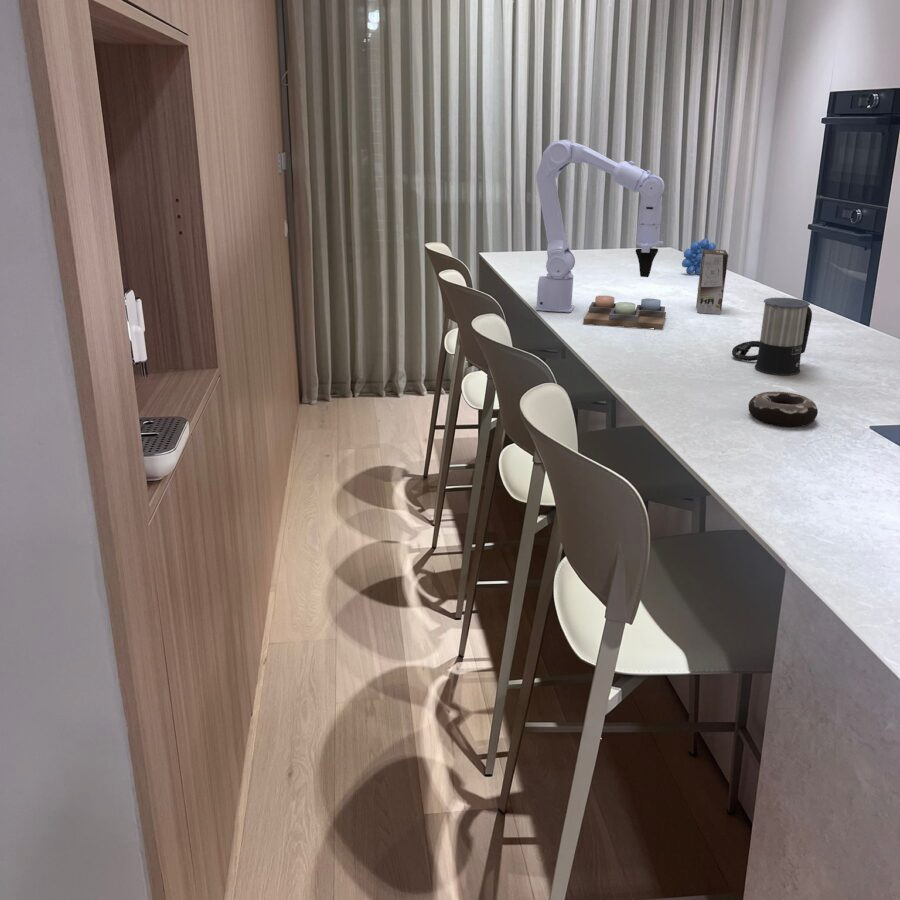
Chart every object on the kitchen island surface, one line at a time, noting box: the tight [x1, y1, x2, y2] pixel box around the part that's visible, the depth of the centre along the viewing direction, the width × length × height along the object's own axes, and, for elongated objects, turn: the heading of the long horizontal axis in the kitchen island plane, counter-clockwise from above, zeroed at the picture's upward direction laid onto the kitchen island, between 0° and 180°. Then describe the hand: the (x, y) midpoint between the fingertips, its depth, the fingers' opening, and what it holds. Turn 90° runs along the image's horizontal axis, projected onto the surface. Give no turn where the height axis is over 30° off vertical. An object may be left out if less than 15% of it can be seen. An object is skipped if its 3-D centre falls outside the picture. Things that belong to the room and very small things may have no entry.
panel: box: [582, 301, 667, 330], centre depth 233 cm, size 20×15×3 cm
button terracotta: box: [594, 295, 615, 308], centre depth 237 cm, size 5×5×2 cm
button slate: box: [640, 298, 662, 311], centre depth 234 cm, size 5×5×2 cm
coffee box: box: [696, 249, 729, 315], centre depth 244 cm, size 9×6×16 cm
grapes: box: [681, 238, 717, 276], centre depth 299 cm, size 12×7×12 cm, turn 95°
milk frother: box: [731, 297, 813, 376], centre depth 192 cm, size 14×16×15 cm
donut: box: [748, 390, 818, 428], centre depth 160 cm, size 12×12×4 cm
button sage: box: [615, 301, 637, 315], centre depth 229 cm, size 5×5×2 cm
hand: (644, 276), depth 236 cm, fingers closed
